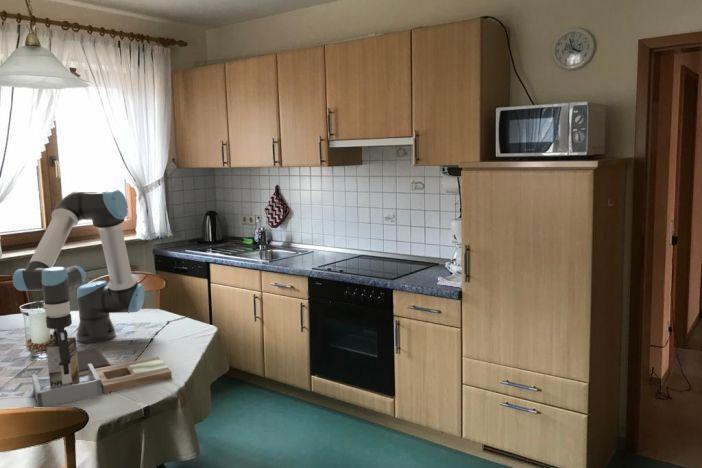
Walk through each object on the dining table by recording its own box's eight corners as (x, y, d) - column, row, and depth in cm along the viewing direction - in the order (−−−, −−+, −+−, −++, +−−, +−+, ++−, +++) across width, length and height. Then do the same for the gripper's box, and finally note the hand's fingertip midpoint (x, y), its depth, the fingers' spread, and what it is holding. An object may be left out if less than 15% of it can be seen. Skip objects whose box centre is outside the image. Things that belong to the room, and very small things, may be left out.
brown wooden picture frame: (94, 375, 216) (94, 368, 215) (158, 362, 227) (157, 355, 227) (103, 393, 201) (103, 385, 200) (171, 378, 212) (171, 370, 211)
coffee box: (70, 393, 201) (65, 345, 199) (50, 394, 201) (45, 346, 198) (80, 382, 210) (76, 337, 208) (61, 383, 210) (56, 338, 208)
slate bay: (33, 389, 205) (32, 374, 205) (92, 377, 215) (91, 363, 214) (38, 408, 190) (36, 393, 189) (102, 394, 199) (100, 380, 198)
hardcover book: (63, 380, 214) (62, 374, 213) (53, 361, 233) (53, 356, 232) (111, 370, 222) (111, 364, 222) (98, 353, 241) (98, 347, 241)
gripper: (42, 308, 210) (48, 367, 214) (49, 325, 189) (56, 391, 193) (66, 304, 214) (71, 363, 217) (76, 321, 193) (82, 386, 196)
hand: (64, 376), depth 205 cm, fingers open, 13 cm apart
